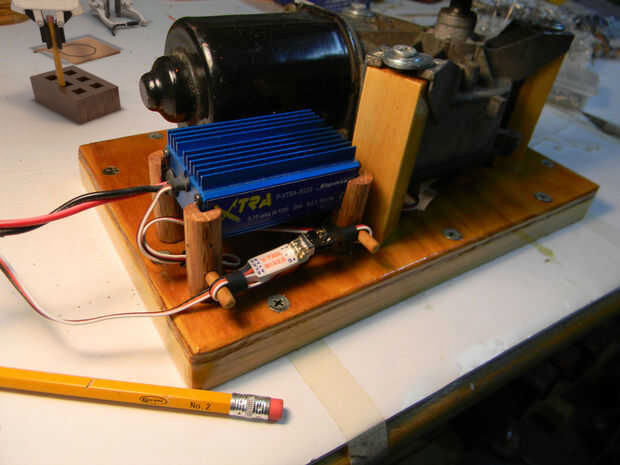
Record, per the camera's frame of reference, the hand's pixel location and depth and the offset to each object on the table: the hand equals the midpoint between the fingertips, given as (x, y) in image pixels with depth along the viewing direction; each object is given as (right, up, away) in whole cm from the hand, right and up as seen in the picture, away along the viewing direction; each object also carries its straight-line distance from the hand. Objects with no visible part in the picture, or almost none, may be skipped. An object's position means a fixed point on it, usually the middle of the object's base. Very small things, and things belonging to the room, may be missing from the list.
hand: (54, 46), depth 88 cm
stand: (0, -9, +10) cm, 14 cm away
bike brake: (-9, +28, +53) cm, 60 cm away
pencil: (-1, -6, +5) cm, 8 cm away
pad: (-11, +11, +32) cm, 35 cm away
